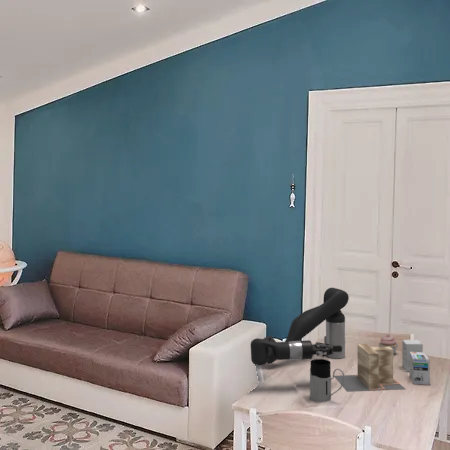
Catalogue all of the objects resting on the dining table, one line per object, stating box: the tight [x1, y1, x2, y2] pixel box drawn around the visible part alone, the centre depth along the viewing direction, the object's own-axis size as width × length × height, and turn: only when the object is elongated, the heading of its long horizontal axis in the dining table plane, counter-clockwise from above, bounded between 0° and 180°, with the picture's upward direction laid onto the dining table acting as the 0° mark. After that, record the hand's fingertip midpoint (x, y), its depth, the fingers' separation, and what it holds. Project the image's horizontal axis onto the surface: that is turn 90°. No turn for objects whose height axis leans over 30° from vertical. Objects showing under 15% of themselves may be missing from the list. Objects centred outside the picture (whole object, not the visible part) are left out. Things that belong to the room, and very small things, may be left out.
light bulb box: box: [409, 351, 431, 386], centre depth 224 cm, size 11×7×11 cm, turn 169°
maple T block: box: [357, 343, 394, 388], centre depth 219 cm, size 12×14×14 cm
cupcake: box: [378, 333, 399, 356], centre depth 263 cm, size 9×9×10 cm
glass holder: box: [309, 358, 345, 403], centre depth 201 cm, size 9×14×15 cm, turn 51°
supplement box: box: [401, 339, 424, 373], centre depth 238 cm, size 7×7×13 cm
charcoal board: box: [334, 374, 406, 393], centre depth 219 cm, size 24×19×1 cm
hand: (341, 348), depth 217 cm, fingers closed
